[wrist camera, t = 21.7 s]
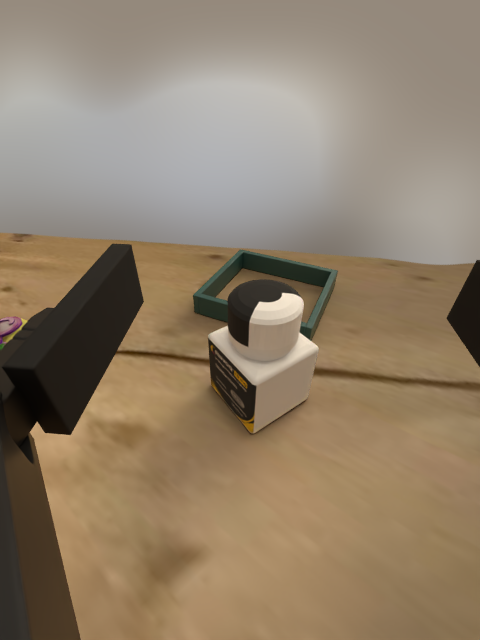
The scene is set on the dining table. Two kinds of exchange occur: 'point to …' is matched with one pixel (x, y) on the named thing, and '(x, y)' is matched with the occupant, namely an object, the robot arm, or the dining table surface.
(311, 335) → the tray
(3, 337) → the cheeseburger
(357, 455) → the dining table surface
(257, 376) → the medicine bottle
